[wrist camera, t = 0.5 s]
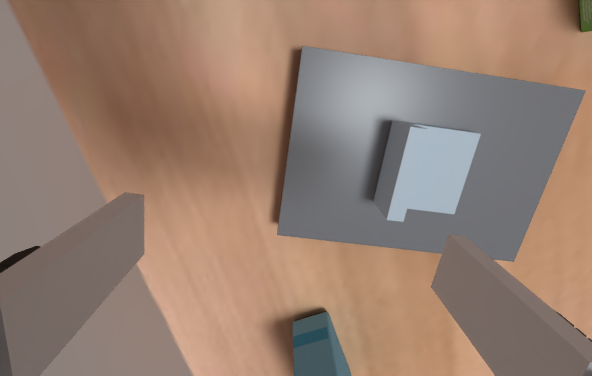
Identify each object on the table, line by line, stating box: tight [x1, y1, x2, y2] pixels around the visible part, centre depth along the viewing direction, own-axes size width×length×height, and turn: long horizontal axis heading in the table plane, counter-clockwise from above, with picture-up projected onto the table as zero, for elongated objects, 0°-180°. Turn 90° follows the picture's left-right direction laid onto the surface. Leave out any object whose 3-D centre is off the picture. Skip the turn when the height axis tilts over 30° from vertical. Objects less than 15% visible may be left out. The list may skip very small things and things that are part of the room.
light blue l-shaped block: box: [373, 121, 481, 222], centre depth 27 cm, size 8×8×4 cm
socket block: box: [277, 46, 586, 262], centre depth 31 cm, size 18×26×3 cm
